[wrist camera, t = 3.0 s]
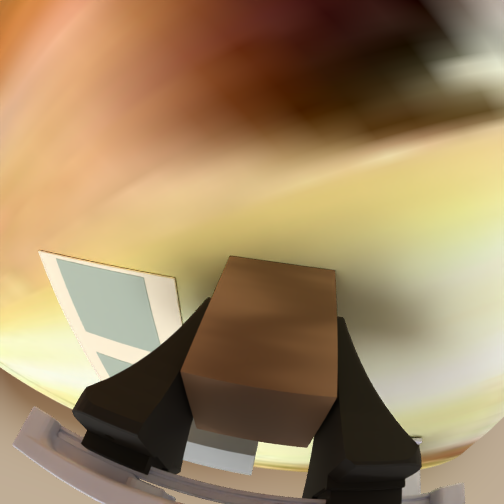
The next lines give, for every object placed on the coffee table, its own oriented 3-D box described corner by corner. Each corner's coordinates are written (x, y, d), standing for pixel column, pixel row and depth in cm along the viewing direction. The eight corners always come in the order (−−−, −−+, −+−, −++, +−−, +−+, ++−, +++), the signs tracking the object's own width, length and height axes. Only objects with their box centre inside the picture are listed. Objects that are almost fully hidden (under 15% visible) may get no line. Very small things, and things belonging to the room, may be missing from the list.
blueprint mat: (174, 277, 14) (173, 279, 14) (202, 418, 23) (201, 419, 23) (39, 250, 16) (37, 251, 15) (105, 387, 25) (105, 388, 24)
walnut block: (334, 270, 12) (337, 397, 7) (316, 339, 15) (306, 447, 10) (229, 255, 13) (180, 371, 8) (230, 326, 15) (196, 428, 11)
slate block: (273, 360, 17) (254, 456, 12) (267, 397, 19) (251, 475, 14) (198, 347, 17) (164, 434, 12) (204, 384, 20) (178, 458, 15)
